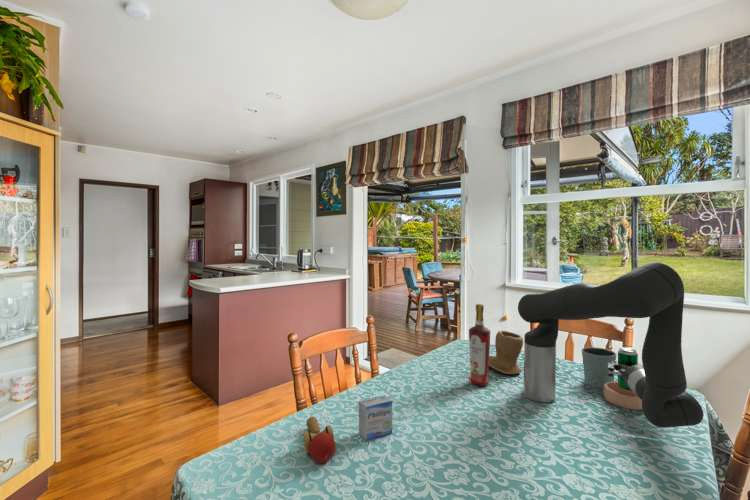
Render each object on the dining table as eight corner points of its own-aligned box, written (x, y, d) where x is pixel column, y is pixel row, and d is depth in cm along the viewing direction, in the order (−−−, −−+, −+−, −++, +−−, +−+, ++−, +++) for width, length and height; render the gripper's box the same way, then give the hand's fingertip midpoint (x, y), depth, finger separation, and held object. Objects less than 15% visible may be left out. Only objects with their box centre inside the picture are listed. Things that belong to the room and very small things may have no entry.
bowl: (609, 406, 105) (610, 393, 105) (600, 390, 116) (600, 379, 116) (656, 412, 101) (657, 399, 101) (642, 396, 112) (642, 384, 112)
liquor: (464, 384, 122) (465, 304, 122) (474, 378, 128) (474, 302, 127) (485, 389, 118) (485, 307, 117) (493, 383, 123) (493, 304, 123)
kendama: (294, 436, 92) (305, 467, 75) (298, 411, 93) (309, 436, 76) (323, 436, 94) (339, 466, 78) (326, 411, 96) (343, 436, 79)
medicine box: (365, 441, 87) (365, 407, 87) (358, 433, 91) (358, 400, 91) (393, 433, 91) (392, 400, 90) (384, 425, 95) (384, 394, 94)
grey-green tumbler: (621, 387, 120) (621, 352, 120) (608, 394, 114) (608, 357, 114) (589, 377, 128) (590, 345, 128) (575, 383, 123) (576, 350, 122)
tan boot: (530, 374, 131) (530, 335, 131) (503, 378, 128) (503, 337, 128) (504, 361, 146) (504, 326, 146) (479, 364, 142) (479, 328, 142)
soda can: (641, 392, 105) (641, 352, 105) (622, 390, 106) (622, 351, 106) (632, 385, 110) (632, 347, 110) (614, 384, 111) (614, 346, 111)
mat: (606, 406, 105) (606, 405, 105) (597, 392, 116) (597, 391, 116) (659, 414, 101) (659, 412, 101) (645, 398, 111) (645, 397, 111)
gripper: (677, 373, 92) (652, 354, 108) (613, 366, 97) (598, 350, 113) (677, 401, 92) (652, 379, 108) (613, 393, 97) (598, 373, 113)
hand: (624, 364), depth 110 cm, fingers closed on soda can, 5 cm apart
